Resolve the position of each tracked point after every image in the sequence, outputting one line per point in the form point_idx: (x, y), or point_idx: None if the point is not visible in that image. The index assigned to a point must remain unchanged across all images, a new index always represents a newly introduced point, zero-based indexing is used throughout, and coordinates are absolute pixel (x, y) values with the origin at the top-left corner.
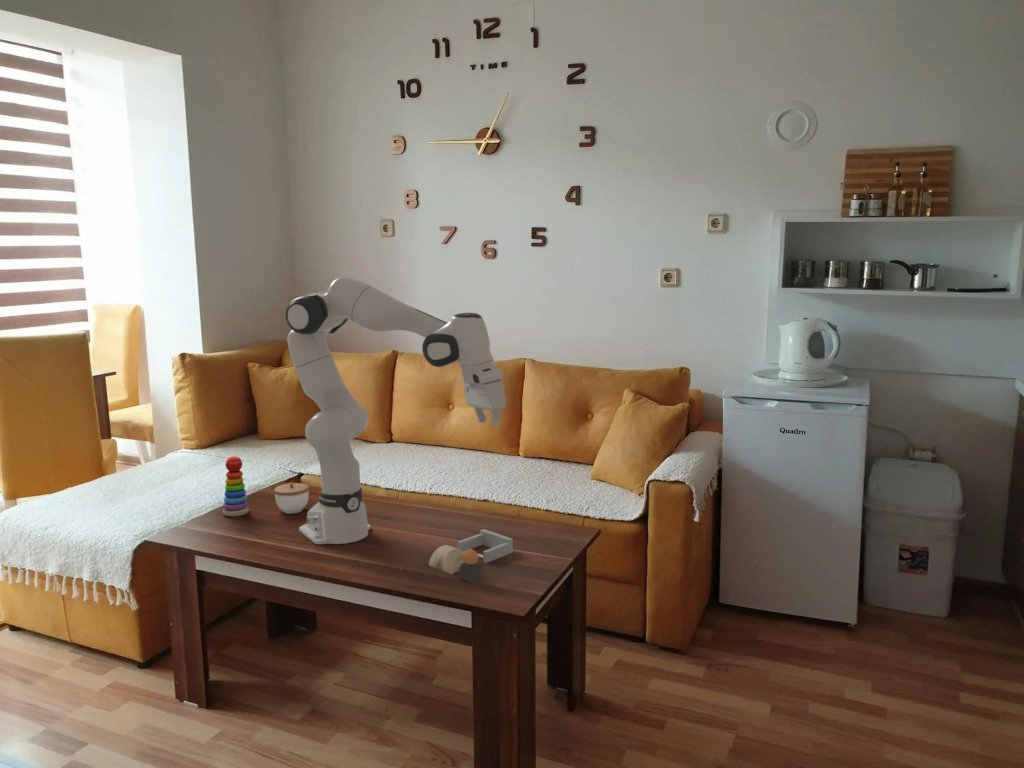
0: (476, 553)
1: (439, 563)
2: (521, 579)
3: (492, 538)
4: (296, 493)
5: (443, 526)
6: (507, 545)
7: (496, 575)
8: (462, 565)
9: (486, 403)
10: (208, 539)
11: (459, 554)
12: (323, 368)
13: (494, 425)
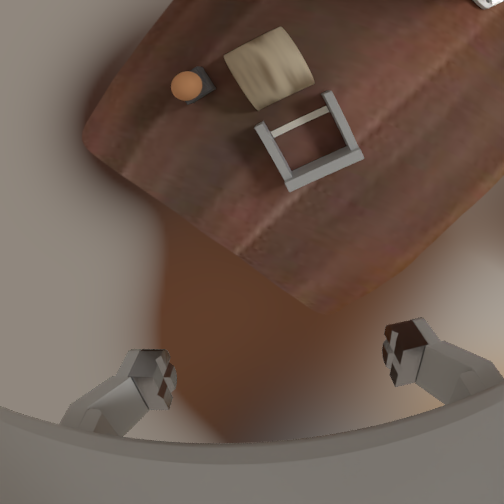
0: (179, 97)
1: (256, 39)
2: (172, 163)
3: (325, 161)
4: None
5: (457, 116)
6: (282, 176)
7: (197, 128)
8: (191, 71)
9: (34, 470)
10: None
11: (241, 73)
12: None
13: (129, 353)
